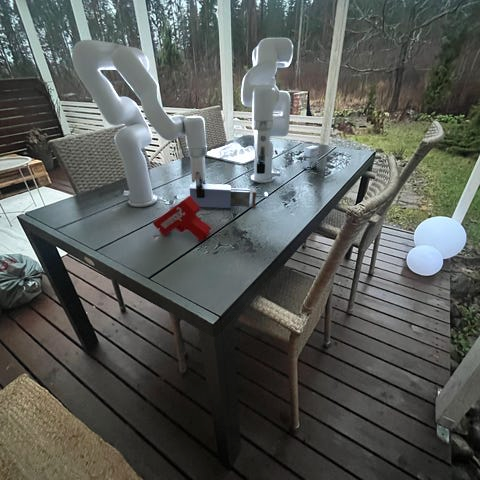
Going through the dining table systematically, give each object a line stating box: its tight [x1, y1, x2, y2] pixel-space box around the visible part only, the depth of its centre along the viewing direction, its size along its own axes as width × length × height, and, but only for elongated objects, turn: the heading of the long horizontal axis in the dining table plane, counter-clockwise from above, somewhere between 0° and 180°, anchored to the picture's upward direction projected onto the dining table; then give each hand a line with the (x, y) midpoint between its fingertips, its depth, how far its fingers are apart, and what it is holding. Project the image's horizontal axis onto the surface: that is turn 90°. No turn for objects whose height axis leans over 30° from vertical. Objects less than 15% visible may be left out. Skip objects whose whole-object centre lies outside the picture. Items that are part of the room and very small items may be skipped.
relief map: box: [206, 141, 254, 165], centre depth 184 cm, size 27×35×5 cm
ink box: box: [301, 144, 320, 170], centre depth 160 cm, size 8×5×12 cm, turn 134°
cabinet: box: [189, 182, 232, 211], centre depth 115 cm, size 17×6×9 cm, turn 91°
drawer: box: [230, 187, 269, 209], centre depth 116 cm, size 21×5×7 cm, turn 91°
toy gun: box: [152, 195, 212, 243], centre depth 96 cm, size 18×4×15 cm
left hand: (201, 194), depth 115 cm, fingers closed on cabinet, 5 cm apart
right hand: (260, 172), depth 110 cm, fingers closed
